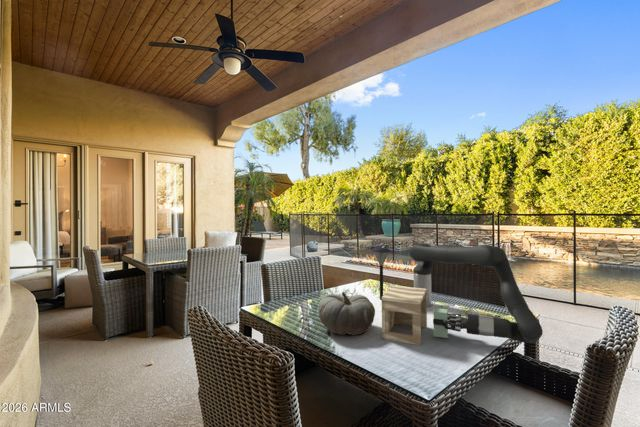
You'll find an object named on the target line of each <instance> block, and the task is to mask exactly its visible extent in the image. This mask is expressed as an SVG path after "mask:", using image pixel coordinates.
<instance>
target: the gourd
mask: <svg viewBox="0 0 640 427" xmlns="http://www.w3.org/2000/svg"><path fill="white" fill-rule="evenodd" d="M375 316H376V308H375V307H374V304H373V303H372V302H371V301H370V299H369V298H368V297H366V296H365V295H362V294H354V295H350V297H348V296H347V295H346V293H345V292H344V291H343V292H341V295H340V294H337V293H327V294H325V295H324V296H322V298H321V300H320V301H319V303H318V318H319V320H320V321H321V324H323V326H324V327H326V328H327V329H328V330H329V331H330V332H331V333H333V334H336V335H346V334H349V335H350V336H351V335H352V336H355V335H360V334H364V333H365V332H366V331H367V330H369V329H370V327H371V326H372V325H373V322H374V320H375Z"/></svg>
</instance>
